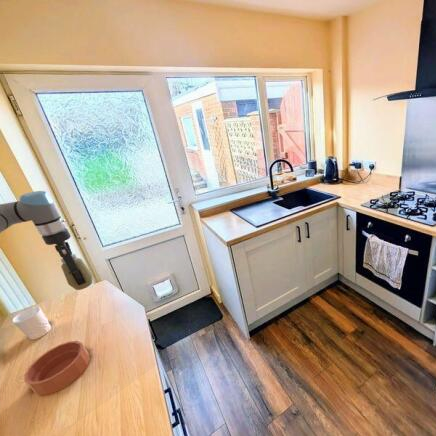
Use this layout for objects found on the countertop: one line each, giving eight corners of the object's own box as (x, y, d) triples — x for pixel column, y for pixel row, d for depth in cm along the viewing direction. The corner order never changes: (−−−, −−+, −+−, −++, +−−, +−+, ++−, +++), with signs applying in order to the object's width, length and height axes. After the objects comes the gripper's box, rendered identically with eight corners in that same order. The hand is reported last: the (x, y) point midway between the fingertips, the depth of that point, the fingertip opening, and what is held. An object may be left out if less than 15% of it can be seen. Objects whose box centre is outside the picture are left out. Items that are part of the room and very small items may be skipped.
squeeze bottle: (67, 291, 101) (45, 254, 94) (86, 278, 108) (67, 243, 101) (82, 293, 99) (60, 255, 92) (100, 280, 106) (81, 244, 99)
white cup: (34, 343, 94) (19, 324, 90) (22, 338, 96) (7, 320, 92) (57, 326, 100) (44, 308, 96) (45, 322, 103) (33, 305, 99)
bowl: (34, 375, 81) (24, 363, 79) (86, 345, 90) (79, 333, 88) (35, 407, 72) (24, 394, 69) (94, 370, 81) (86, 358, 78)
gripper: (69, 235, 88) (96, 285, 98) (63, 221, 102) (87, 266, 112) (42, 243, 84) (72, 295, 93) (39, 228, 97) (66, 274, 107)
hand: (80, 279), depth 102 cm, fingers closed on squeeze bottle, 8 cm apart
